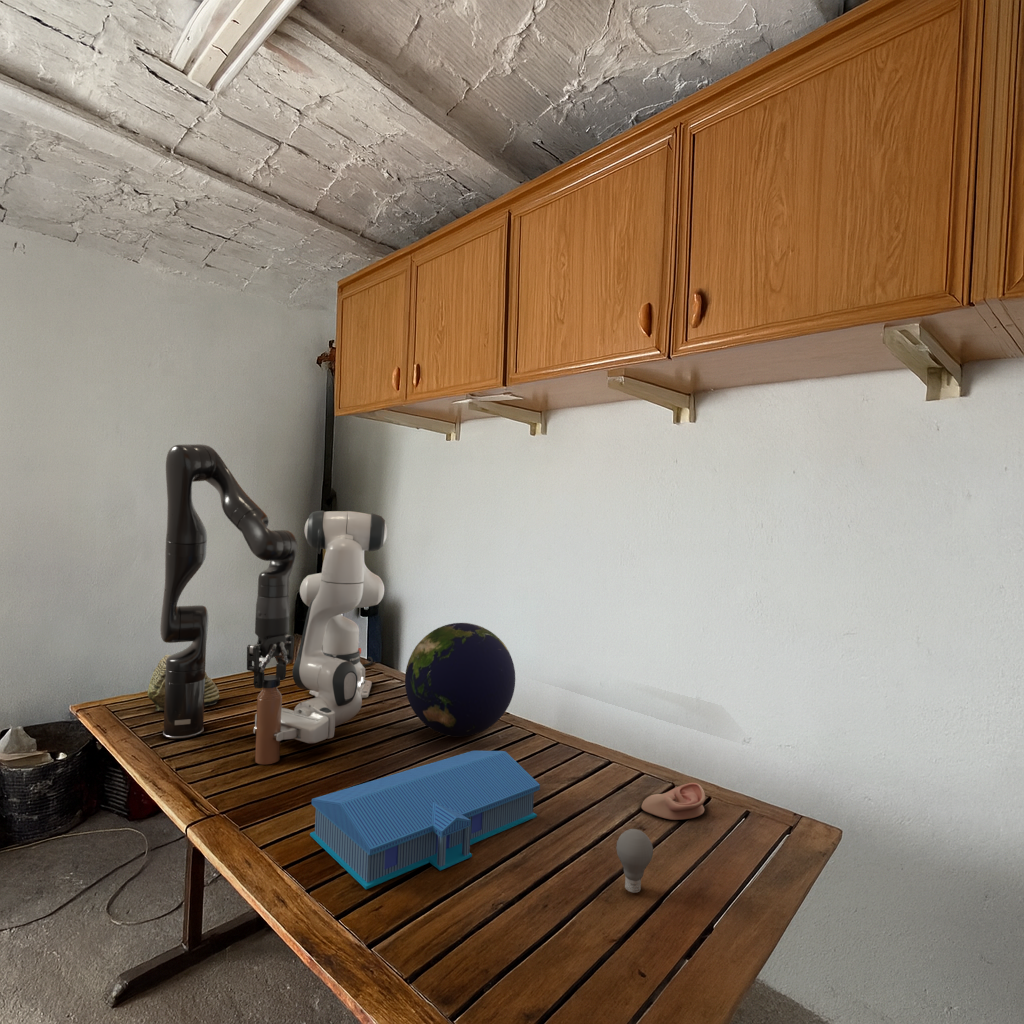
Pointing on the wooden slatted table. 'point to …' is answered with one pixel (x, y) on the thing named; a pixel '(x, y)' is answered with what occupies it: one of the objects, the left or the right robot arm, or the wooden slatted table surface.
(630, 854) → the light bulb
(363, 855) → the model building
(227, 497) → the left robot arm
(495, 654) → the globe
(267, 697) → the bottle
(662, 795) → the anatomical model
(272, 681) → the cap
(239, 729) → the wooden slatted table surface
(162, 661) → the fossil
